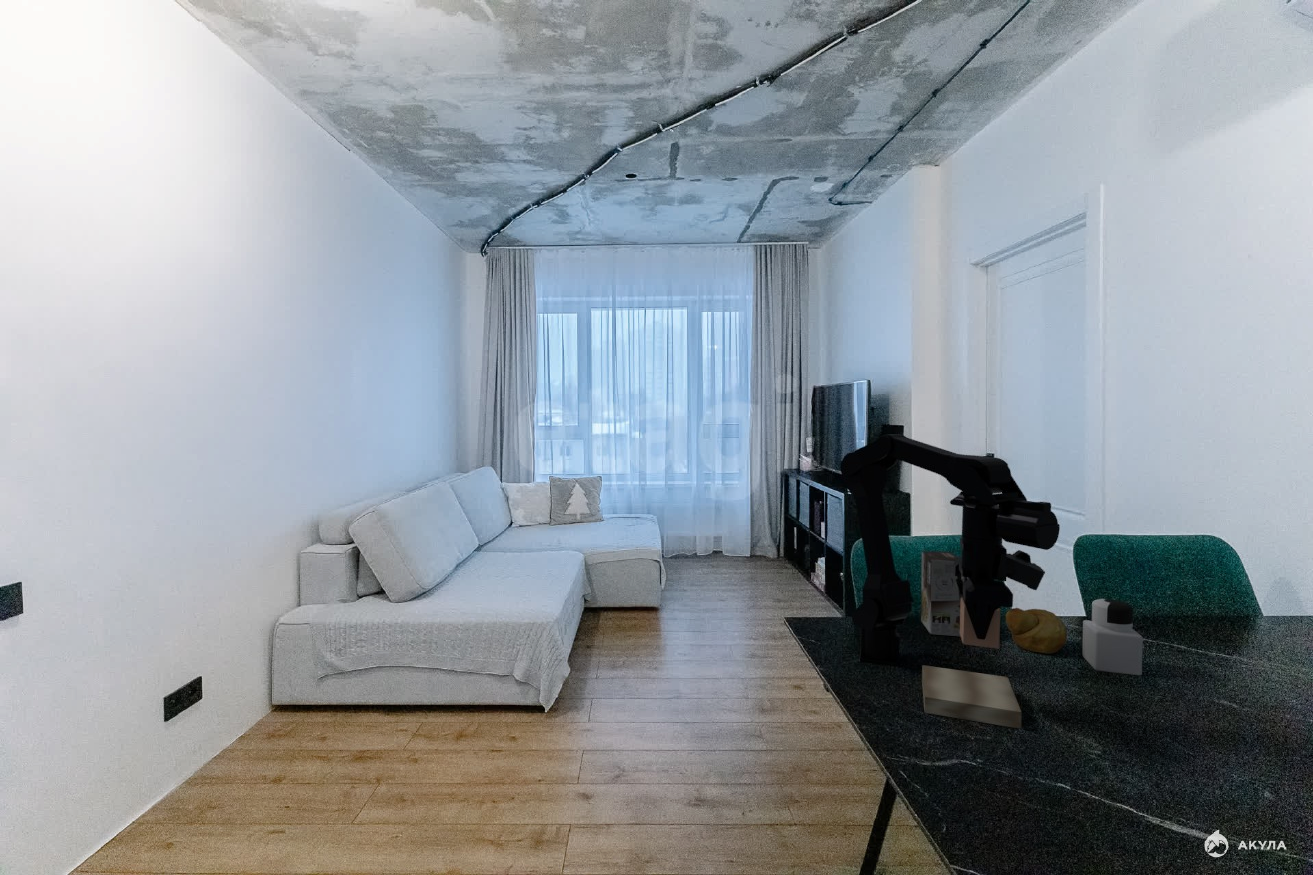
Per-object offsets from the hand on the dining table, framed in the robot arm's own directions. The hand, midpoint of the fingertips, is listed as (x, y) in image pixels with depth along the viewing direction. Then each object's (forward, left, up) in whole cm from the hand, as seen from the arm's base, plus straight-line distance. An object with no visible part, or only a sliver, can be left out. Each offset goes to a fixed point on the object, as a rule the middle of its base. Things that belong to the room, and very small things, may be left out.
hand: (978, 633), depth 97 cm
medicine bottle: (+25, +25, -11) cm, 37 cm away
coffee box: (-3, +35, -12) cm, 37 cm away
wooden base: (-1, -1, -11) cm, 11 cm away
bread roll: (+15, +32, -12) cm, 37 cm away
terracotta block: (0, 0, -1) cm, 1 cm away
